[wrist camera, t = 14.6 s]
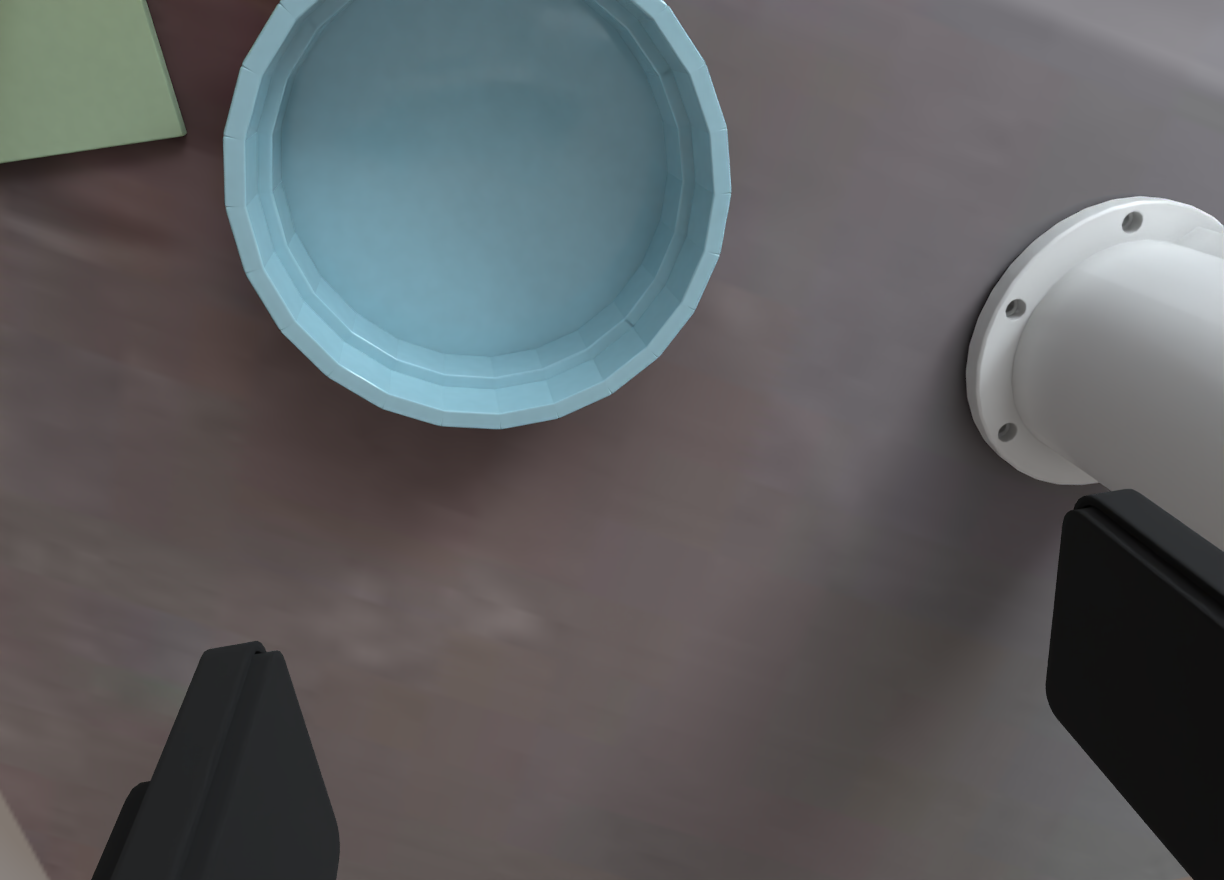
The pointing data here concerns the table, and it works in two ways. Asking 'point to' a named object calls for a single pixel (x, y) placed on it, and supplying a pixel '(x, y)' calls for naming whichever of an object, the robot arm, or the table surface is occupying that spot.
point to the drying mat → (81, 78)
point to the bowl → (477, 196)
